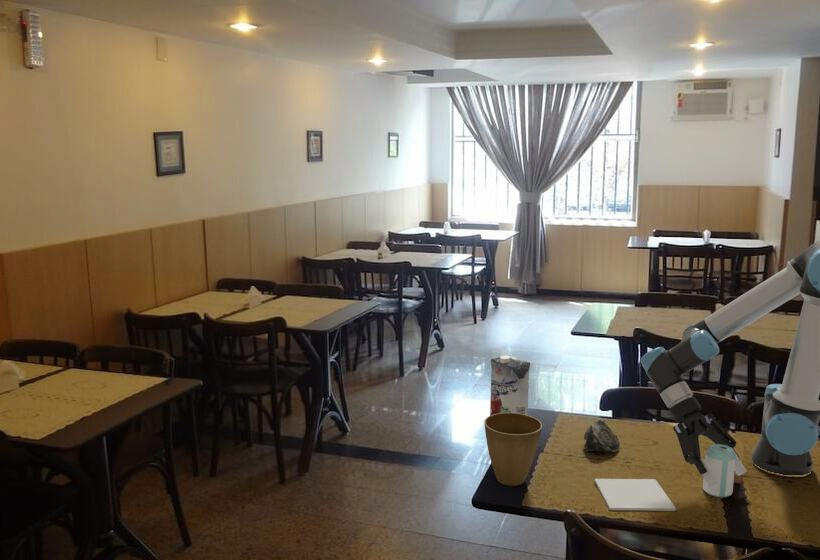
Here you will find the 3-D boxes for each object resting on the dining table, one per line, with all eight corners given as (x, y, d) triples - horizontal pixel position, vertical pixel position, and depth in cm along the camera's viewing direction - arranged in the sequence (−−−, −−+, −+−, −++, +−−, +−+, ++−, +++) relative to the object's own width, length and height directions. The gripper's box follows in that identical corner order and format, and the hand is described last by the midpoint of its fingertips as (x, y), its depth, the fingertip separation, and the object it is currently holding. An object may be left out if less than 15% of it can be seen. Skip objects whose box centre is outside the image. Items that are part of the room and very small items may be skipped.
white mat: (655, 481, 200) (655, 479, 200) (675, 510, 184) (675, 508, 184) (594, 480, 200) (594, 478, 200) (609, 510, 184) (610, 507, 184)
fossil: (622, 456, 214) (606, 426, 213) (592, 468, 217) (576, 437, 216) (620, 440, 224) (605, 411, 223) (591, 451, 227) (576, 423, 226)
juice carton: (508, 435, 230) (511, 349, 225) (530, 447, 222) (534, 358, 217) (484, 440, 226) (487, 353, 221) (506, 453, 217) (509, 362, 212)
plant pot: (472, 482, 199) (473, 424, 196) (501, 463, 210) (502, 408, 207) (522, 498, 190) (524, 438, 187) (549, 477, 202) (552, 420, 199)
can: (699, 485, 198) (703, 442, 196) (727, 486, 197) (731, 443, 195) (706, 498, 191) (710, 453, 189) (735, 499, 190) (740, 454, 188)
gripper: (699, 401, 210) (745, 474, 200) (642, 417, 197) (689, 496, 187) (718, 388, 204) (766, 462, 195) (661, 404, 192) (709, 484, 182)
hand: (728, 479), depth 191 cm, fingers open, 11 cm apart
